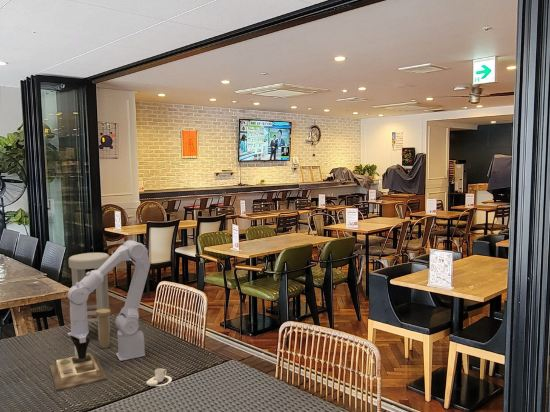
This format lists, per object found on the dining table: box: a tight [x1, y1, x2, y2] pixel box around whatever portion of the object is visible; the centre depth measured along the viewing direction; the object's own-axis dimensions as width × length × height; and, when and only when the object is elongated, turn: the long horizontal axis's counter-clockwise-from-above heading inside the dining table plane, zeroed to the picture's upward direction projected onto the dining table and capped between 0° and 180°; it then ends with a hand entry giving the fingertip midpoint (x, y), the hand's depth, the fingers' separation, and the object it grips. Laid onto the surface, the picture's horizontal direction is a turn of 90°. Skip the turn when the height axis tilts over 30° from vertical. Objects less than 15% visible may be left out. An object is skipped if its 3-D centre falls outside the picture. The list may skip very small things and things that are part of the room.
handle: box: [95, 308, 112, 349], centre depth 194 cm, size 5×6×15 cm
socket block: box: [49, 352, 108, 392], centre depth 171 cm, size 16×22×3 cm
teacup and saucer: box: [146, 368, 173, 387], centre depth 164 cm, size 9×8×4 cm
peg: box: [73, 344, 88, 364], centre depth 176 cm, size 4×4×7 cm
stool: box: [68, 252, 111, 342], centre depth 205 cm, size 16×16×35 cm
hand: (81, 356), depth 176 cm, fingers closed on peg, 4 cm apart
